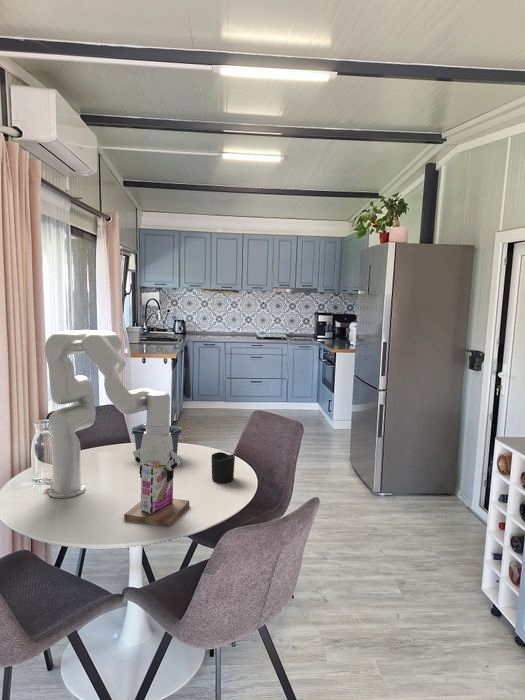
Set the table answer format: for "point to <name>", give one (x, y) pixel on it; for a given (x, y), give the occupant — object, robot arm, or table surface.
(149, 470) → the candy bar box
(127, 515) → the walnut board
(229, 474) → the pen holder
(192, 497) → the table surface
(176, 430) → the storage bin
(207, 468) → the table surface
